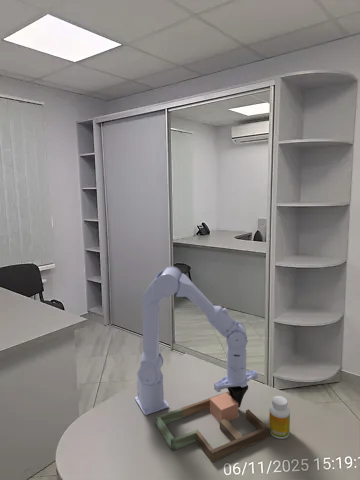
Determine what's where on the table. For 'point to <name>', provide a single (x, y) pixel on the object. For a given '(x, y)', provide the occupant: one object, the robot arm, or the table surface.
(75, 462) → the table surface
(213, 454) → the frame
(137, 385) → the robot arm
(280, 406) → the supplement bottle
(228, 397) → the terracotta block
